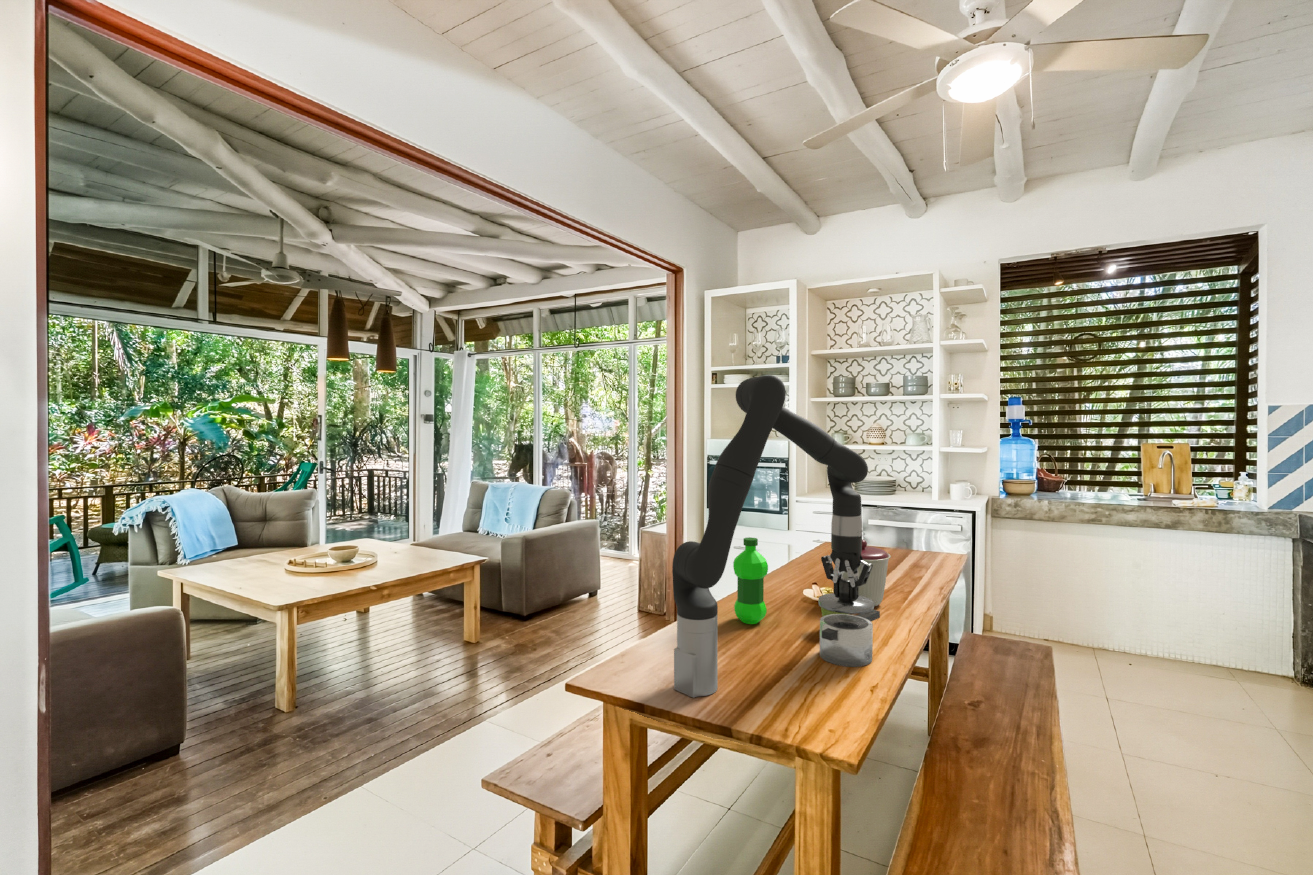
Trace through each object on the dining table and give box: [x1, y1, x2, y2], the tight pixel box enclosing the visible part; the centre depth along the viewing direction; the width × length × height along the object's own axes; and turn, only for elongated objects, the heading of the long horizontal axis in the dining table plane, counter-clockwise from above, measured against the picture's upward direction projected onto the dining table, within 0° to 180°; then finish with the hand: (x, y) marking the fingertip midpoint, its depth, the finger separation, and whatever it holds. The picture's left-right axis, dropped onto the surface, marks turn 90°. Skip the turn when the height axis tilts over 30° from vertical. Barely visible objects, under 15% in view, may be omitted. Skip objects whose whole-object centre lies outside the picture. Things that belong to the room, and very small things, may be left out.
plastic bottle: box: [732, 536, 769, 625], centre depth 189 cm, size 10×10×25 cm
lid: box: [818, 578, 875, 615], centre depth 161 cm, size 14×14×6 cm
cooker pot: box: [819, 609, 881, 668], centre depth 164 cm, size 25×13×9 cm, turn 133°
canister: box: [842, 539, 892, 608], centre depth 206 cm, size 18×18×21 cm
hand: (845, 598), depth 161 cm, fingers closed on lid, 3 cm apart
